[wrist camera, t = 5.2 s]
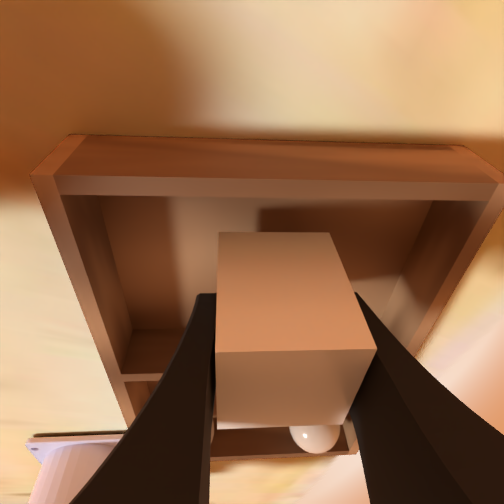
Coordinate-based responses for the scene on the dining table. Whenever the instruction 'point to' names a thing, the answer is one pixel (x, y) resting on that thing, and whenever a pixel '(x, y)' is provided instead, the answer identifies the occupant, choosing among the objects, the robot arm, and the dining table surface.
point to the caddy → (254, 220)
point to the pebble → (315, 437)
